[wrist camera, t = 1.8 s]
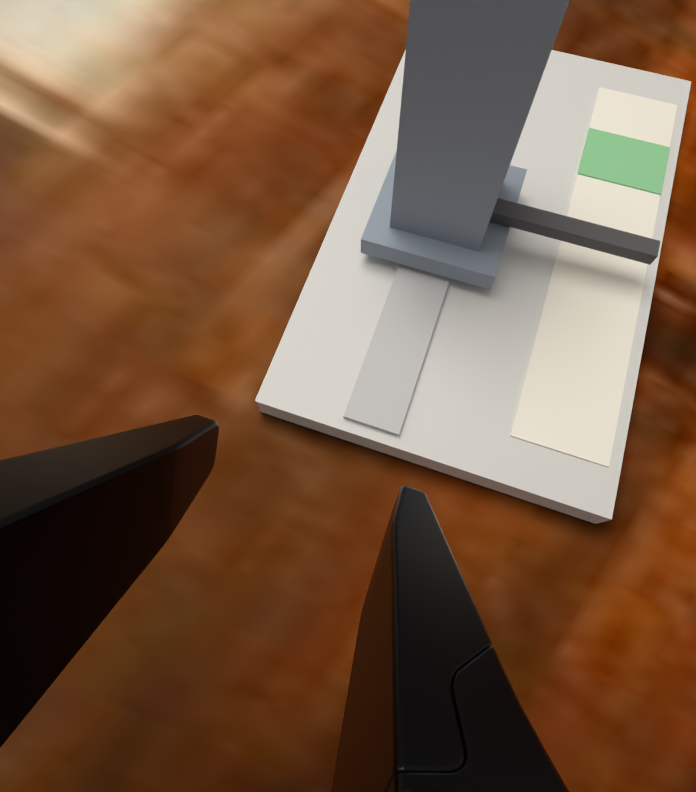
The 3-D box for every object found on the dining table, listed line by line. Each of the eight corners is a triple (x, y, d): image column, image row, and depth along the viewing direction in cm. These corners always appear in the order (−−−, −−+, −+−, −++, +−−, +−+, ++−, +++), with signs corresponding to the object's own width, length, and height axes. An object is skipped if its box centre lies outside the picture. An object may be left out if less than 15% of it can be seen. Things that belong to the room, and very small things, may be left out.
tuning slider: (627, 329, 23) (896, 74, 11) (360, 252, 24) (363, -40, 13) (648, 218, 25) (898, -95, 13) (400, 153, 26) (433, -178, 15)
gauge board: (595, 523, 22) (615, 518, 20) (260, 411, 24) (253, 398, 22) (675, 105, 30) (694, 76, 28) (415, 45, 31) (418, 14, 30)
